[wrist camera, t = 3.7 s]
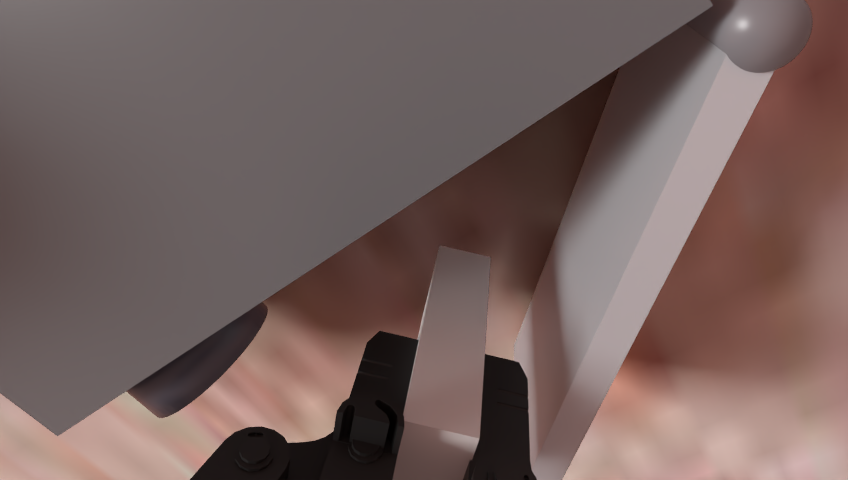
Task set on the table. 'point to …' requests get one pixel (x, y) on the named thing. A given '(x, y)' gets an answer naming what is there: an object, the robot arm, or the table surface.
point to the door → (641, 206)
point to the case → (242, 161)
